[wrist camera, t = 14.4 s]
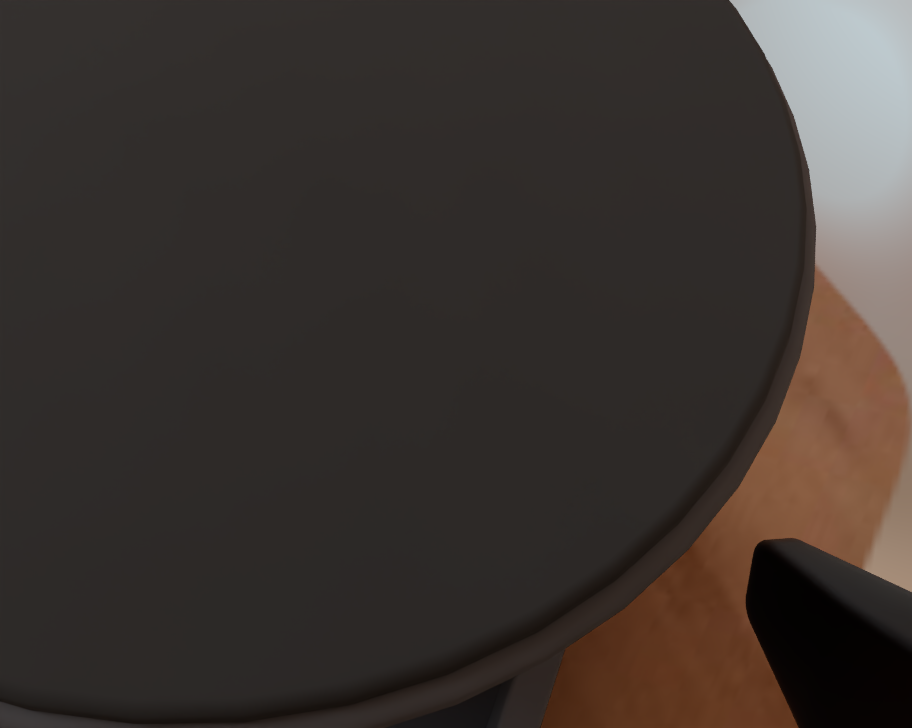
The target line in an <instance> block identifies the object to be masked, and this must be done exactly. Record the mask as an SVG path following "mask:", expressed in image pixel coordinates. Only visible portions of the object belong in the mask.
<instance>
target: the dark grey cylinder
mask: <svg viewBox="0 0 912 728" xmlns="http://www.w3.org/2000/svg"><path fill="white" fill-rule="evenodd" d="M815 242H816V223H815V214H814V207H813V199H812V191H811V183H810V175H809V168H808V165H807V161H806V158H805V154H804V151H803V147H802V144H801V140H800V137H799V133H798V130H797V126H796V123H795V119H794V116H793V114H792V111H791V109H790V107H789V105H788V102H787V100H786V98H785V96H784V94H783V92H782V89H781V87H780V85H779V82H778V80H777V78H776V76H775V73H774V71H773V69H772V67H771V65H770V64H769V62H768V61H767V59H766V57H765V54H764V53H763V51H762V49H761V48H760V46H759V45H758V43H757V42H756V40H755V38H754V37H753V35H752V33H751V32H750V30H749V28H748V27H747V25H746V24H745V22H744V20H743V19H742V17H741V16H740V14H739V13H738V11H737V9H736V8H735V7H734V6H733V4H732V3H731V2H730V1H729V0H0V728H386V727H389V726H392V725H395V724H398V723H401V722H405V721H408V720H411V719H414V718H417V717H420V716H423V715H427V714H430V713H433V712H436V711H439V710H442V709H445V708H449V707H452V706H455V705H457V704H459V703H461V702H463V701H466V700H468V699H470V698H472V697H474V696H476V695H478V694H480V693H482V692H484V691H486V690H488V689H490V688H492V687H494V686H497V685H499V684H501V683H503V682H505V681H507V680H509V679H511V678H513V677H515V676H517V675H519V674H521V673H523V672H525V671H528V670H530V669H532V668H534V667H536V666H538V665H540V664H542V663H544V662H546V661H548V660H549V659H551V658H552V657H553V656H555V655H556V654H558V653H559V652H561V651H562V650H564V649H565V648H567V647H568V646H570V645H571V644H573V643H574V642H576V641H577V640H579V639H580V638H582V637H583V636H584V635H586V634H587V633H589V632H590V631H592V630H593V629H595V628H596V627H598V626H599V625H601V624H602V623H604V622H605V621H607V620H608V619H610V618H611V617H613V616H614V615H616V614H617V613H618V612H620V611H621V610H623V609H624V608H625V607H626V606H628V605H629V604H630V603H631V602H632V601H633V600H634V599H635V598H636V597H637V596H638V595H639V594H641V593H642V592H643V591H644V590H645V589H646V588H647V587H648V586H649V585H650V584H651V583H653V582H654V581H655V580H656V579H657V578H658V577H659V576H660V575H661V574H662V573H663V572H665V571H666V570H667V569H668V568H669V567H670V566H671V565H672V564H673V563H674V562H675V561H676V560H678V559H679V558H680V557H681V556H682V555H683V554H684V553H685V552H686V551H687V550H688V549H689V548H690V547H691V546H692V544H693V543H694V542H695V541H696V539H697V538H698V537H699V536H700V534H701V533H702V532H703V531H704V529H705V528H706V527H707V526H708V524H709V523H710V522H711V521H712V519H713V518H714V517H715V516H716V514H717V513H718V512H719V511H720V509H721V508H722V507H723V506H724V504H725V503H726V502H727V501H728V499H729V498H730V497H731V496H732V494H733V493H734V492H735V491H736V489H737V488H738V487H739V485H740V484H741V482H742V480H743V478H744V477H745V475H746V473H747V471H748V470H749V468H750V466H751V464H752V463H753V461H754V459H755V457H756V456H757V454H758V452H759V450H760V448H761V447H762V445H763V443H764V441H765V440H766V438H767V436H768V434H769V433H770V431H771V429H772V427H773V426H774V424H775V422H776V420H777V417H778V414H779V412H780V409H781V406H782V404H783V401H784V398H785V396H786V393H787V390H788V388H789V385H790V382H791V380H792V377H793V374H794V372H795V369H796V366H797V364H798V361H799V358H800V354H801V350H802V345H803V340H804V335H805V330H806V325H807V320H808V315H809V310H810V305H811V299H812V294H813V289H814V272H815Z"/></svg>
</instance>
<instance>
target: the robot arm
mask: <svg viewBox="0 0 912 728" xmlns="http://www.w3.org/2000/svg"><path fill="white" fill-rule="evenodd" d="M746 610H747V615H748V618H749V621H750V623H751V625H752V628H753V630H754V632H755V634H756V636H757V638H758V641H759V643H760V645H761V647H762V649H763V651H764V654H765V656H766V658H767V660H768V662H769V664H770V667H771V669H772V671H773V673H774V675H775V677H776V680H777V682H778V684H779V686H780V688H781V690H782V693H783V695H784V697H785V699H786V701H787V703H788V706H789V708H790V710H791V712H792V714H793V716H794V718H795V721H796V723H797V725H798V727H799V728H912V592H910V591H908V590H905V589H903V588H901V587H899V586H897V585H895V584H893V583H891V582H888V581H886V580H884V579H882V578H880V577H878V576H876V575H873V574H871V573H869V572H867V571H865V570H863V569H861V568H858V567H856V566H854V565H852V564H850V563H848V562H846V561H843V560H841V559H839V558H837V557H835V556H833V555H831V554H828V553H826V552H824V551H822V550H820V549H818V548H816V547H813V546H811V545H809V544H807V543H805V542H803V541H801V540H798V539H794V538H785V539H772V540H763V541H761V542H759V543H758V544H757V546H756V547H755V550H754V553H753V559H752V564H751V570H750V576H749V582H748V587H747V593H746Z"/></svg>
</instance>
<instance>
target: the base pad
mask: <svg viewBox="0 0 912 728" xmlns="http://www.w3.org/2000/svg"><path fill="white" fill-rule="evenodd" d="M564 651H565V649H564V650H562V651H561V652H559V653H558V654H556V655H555V656H553V657H552V658H551V659H549V660H548V661H546V662H544V663H542V664H540V665H538V666H536V667H534V668H532V669H530V670H528V671H525V672H523V673H521V674H519V675H517V676H515V677H513V678H511V679H509V680H507V681H505V682H503V683H501V684H499V685H497V686H494V687H492V688H490V689H488V690H486V691H484V692H482V693H480V694H478V695H476V696H474V697H472V698H470V699H468V700H466V701H463V702H461V703H459V704H457V705H455V706H452V707H449V708H445V709H442V710H439V711H436V712H433V713H430V714H427V715H423V716H420V717H417V718H414V719H411V720H408V721H405V722H401V723H398V724H395V725H392V726H389V727H386V728H540V727H541V724H542V721H543V717H544V714H545V711H546V708H547V705H548V702H549V698H550V695H551V692H552V689H553V686H554V683H555V679H556V676H557V673H558V670H559V667H560V664H561V661H562V657H563V654H564Z"/></svg>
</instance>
